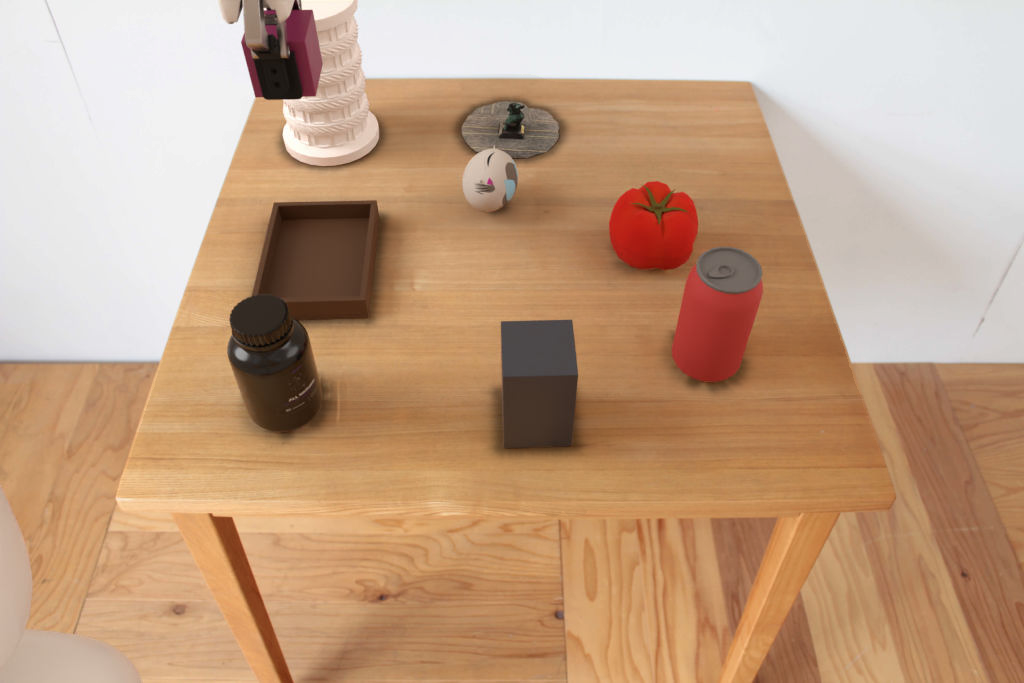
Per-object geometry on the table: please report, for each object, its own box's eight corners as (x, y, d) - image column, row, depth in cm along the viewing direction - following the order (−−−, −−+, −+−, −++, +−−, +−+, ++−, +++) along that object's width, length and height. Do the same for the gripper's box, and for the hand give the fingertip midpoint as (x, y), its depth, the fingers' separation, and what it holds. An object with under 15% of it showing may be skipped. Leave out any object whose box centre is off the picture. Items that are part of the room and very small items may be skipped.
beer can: (657, 345, 83) (676, 253, 74) (716, 325, 84) (740, 233, 75) (693, 394, 79) (717, 304, 70) (753, 373, 80) (784, 282, 71)
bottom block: (571, 446, 75) (578, 374, 67) (503, 448, 75) (502, 376, 67) (566, 392, 79) (572, 319, 71) (501, 394, 79) (500, 320, 71)
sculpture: (576, 144, 104) (542, 115, 98) (525, 197, 107) (488, 172, 101) (530, 90, 111) (495, 60, 105) (483, 142, 114) (445, 115, 107)
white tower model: (295, 109, 109) (264, -30, 95) (385, 111, 109) (367, -28, 95) (275, 165, 101) (238, 22, 88) (372, 167, 101) (350, 24, 87)
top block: (315, 96, 70) (304, 41, 67) (255, 97, 70) (240, 42, 67) (323, 64, 74) (312, 9, 70) (264, 65, 74) (251, 10, 70)
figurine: (508, 233, 93) (508, 184, 88) (455, 225, 94) (452, 176, 89) (524, 188, 98) (525, 139, 93) (474, 181, 99) (472, 132, 94)
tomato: (592, 243, 92) (597, 188, 87) (659, 217, 95) (668, 162, 89) (642, 297, 87) (651, 242, 81) (711, 267, 90) (725, 212, 84)
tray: (368, 318, 85) (365, 300, 83) (255, 320, 85) (249, 302, 83) (379, 218, 95) (376, 200, 93) (278, 220, 95) (273, 202, 93)
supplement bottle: (318, 436, 76) (291, 347, 66) (241, 434, 76) (204, 345, 67) (330, 375, 80) (307, 285, 71) (258, 374, 80) (226, 284, 71)
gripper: (206, -201, 64) (260, 27, 77) (149, -108, 52) (224, 139, 66) (307, -202, 64) (343, 26, 78) (271, -109, 53) (321, 137, 66)
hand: (288, 76), depth 72 cm, fingers closed on top block, 5 cm apart
